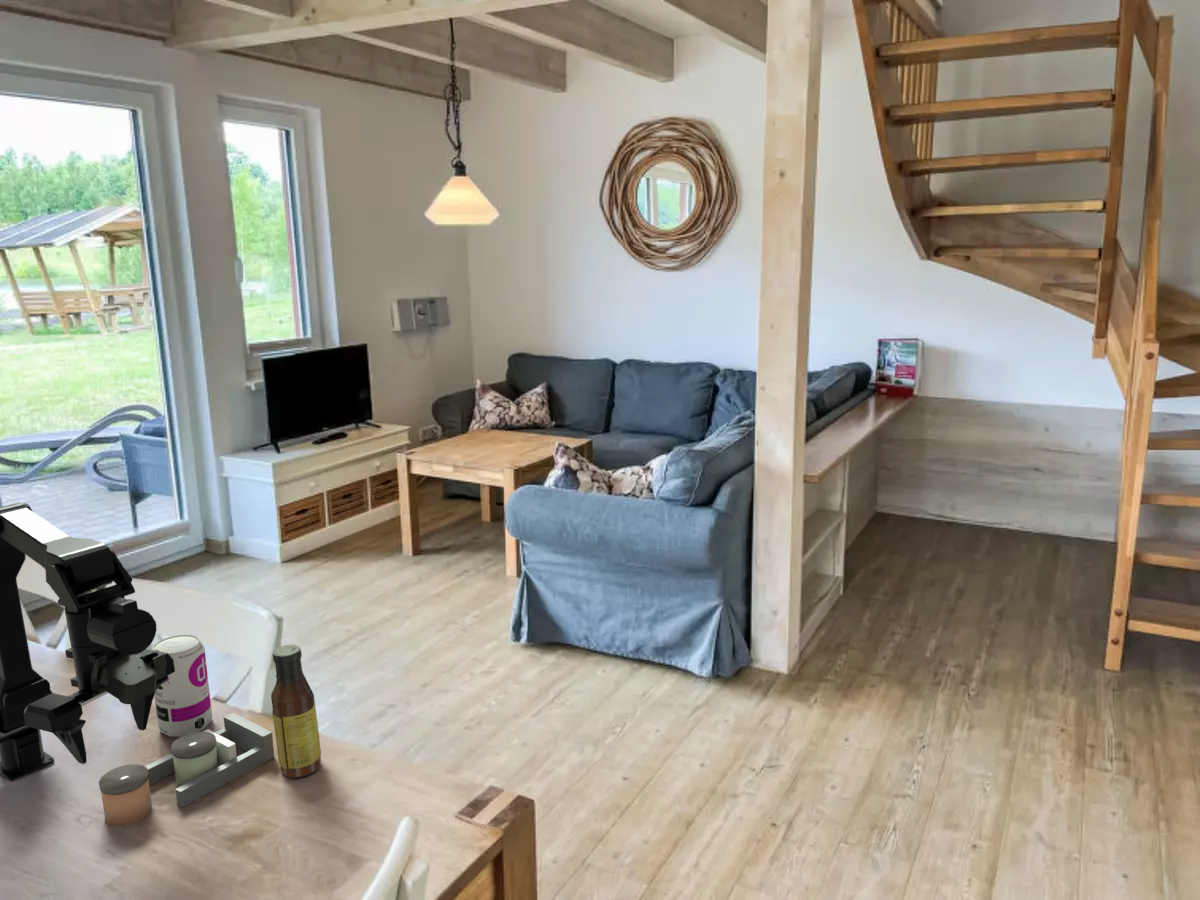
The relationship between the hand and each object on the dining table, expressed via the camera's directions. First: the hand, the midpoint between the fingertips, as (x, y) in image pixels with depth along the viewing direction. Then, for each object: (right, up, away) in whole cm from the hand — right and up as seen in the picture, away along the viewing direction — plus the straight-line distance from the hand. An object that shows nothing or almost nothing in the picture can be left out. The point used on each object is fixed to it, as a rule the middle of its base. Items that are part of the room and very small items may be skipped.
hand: (113, 745), depth 124 cm
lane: (+6, -9, +16) cm, 19 cm away
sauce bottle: (+20, -9, +17) cm, 28 cm away
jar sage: (+5, -9, +15) cm, 18 cm away
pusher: (+7, -8, +18) cm, 21 cm away
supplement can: (-3, -6, +29) cm, 30 cm away
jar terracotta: (-1, -12, +6) cm, 13 cm away
